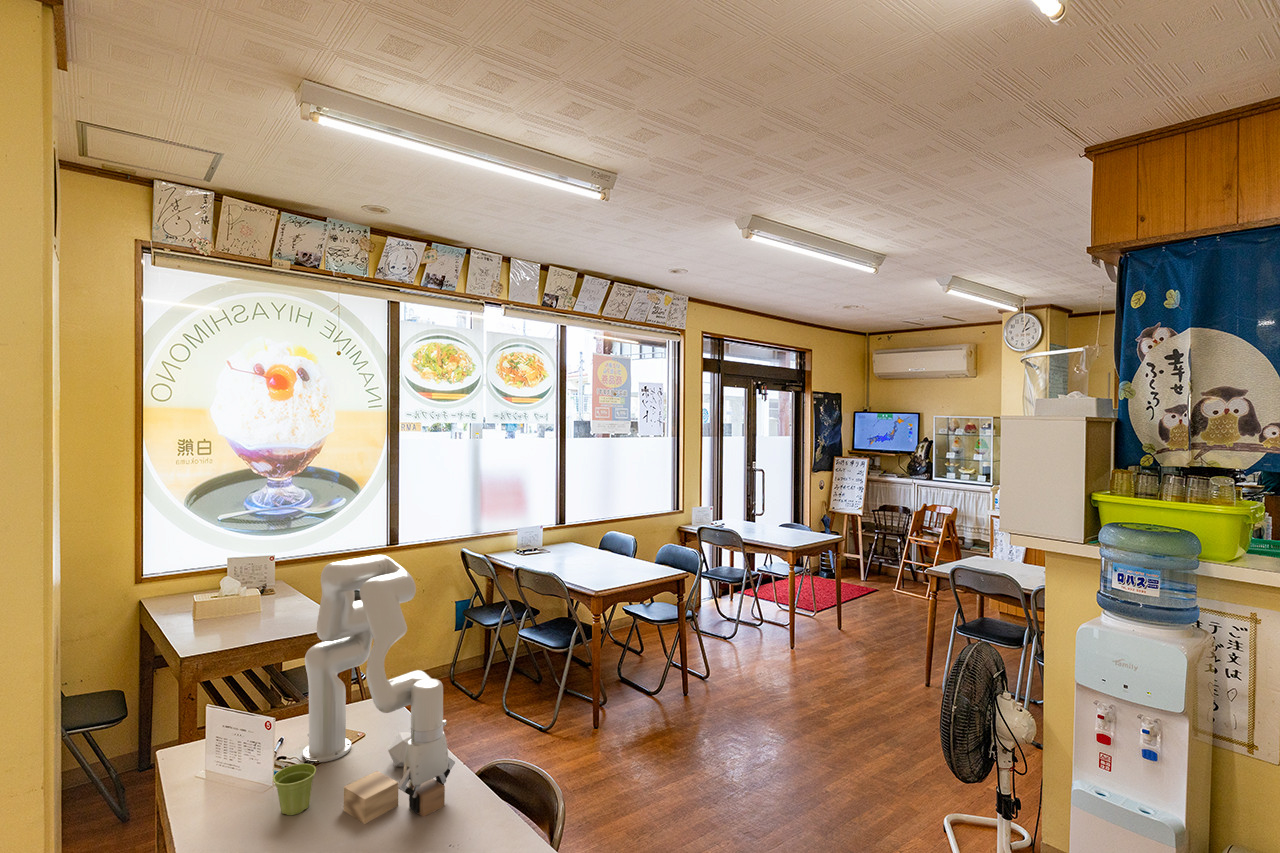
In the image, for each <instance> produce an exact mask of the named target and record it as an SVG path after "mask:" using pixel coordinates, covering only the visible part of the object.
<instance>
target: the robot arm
mask: <svg viewBox="0 0 1280 853" xmlns="http://www.w3.org/2000/svg"><path fill="white" fill-rule="evenodd" d="M320 586H321V598H320V604H319V608H318V609H319V610H318V615H317V620H316V635H317V638H319V640H321V642H318V643H316V644H314V645H312V646H311V647H310V648H308V650H307V651H306V653H305V656H304V664H305V665H304V666H305V669H306V670H305V671H306V674H307V681H308V682H307V683H308V734H307V738H308V745H307V746H305V747H304V748H303V750H302V758H303V757H305V758H306V759H310V760H317V761H319V762H318V763H326V762H330V761H335V760H338V759H340V758H342V757H343V756H345V755H347V754H348V753H349V752H350V751H351V749H352V741H351V740H350V739H349V738H346V737H347V736H346V733H347V732H346V730H347V729H346V728H347V727H346V724H347V723H346V716H347V715H346V714H347V712H346V710H347V709H346V708H347V707H346V705H347V704H346V703H347V702H346V701H347V697H346V695H347V694H346V693H347V692H346V685H345V683H344V682H343V681H342V679H340V678H339V676H338V675H339V674H340V673H341V672H344V671H347V670H350V669H353V668H356V667H359V666H361V665H363V664H364V663H365V662H366V670H365V671H366V672H365V673H366V674H365V676H366V677H365V678H366V683H367V687H368V689H369V693H370V697H371V699H372V702H373V704H374V706H375V708H376V709H377V710H378V711H379V712H380V713H382V714H388V713H393V712H396V711H398V710H401V709H403V708H406V707H407V706H410V732H411V739H410V740H408V743H407V747H406V752H405V759H404V766H403V776H402V778H401V779H400V781H398V785H397V788H398V790H400V791H402V792H403V793H405V794H406V795H408V799H409V800H408V803H409V804H408V808H409V807H410V808H409V809H410V810H411V811H412V812H414V813H415V814H418V813H419V811H420V797H419V796H418V792H419V789H420V785H421V784H422V783H424V782H426V781H428V780H431V779H434V778H435V780H436V781H438V782H439V783H441V784H443V785H444V786H445V784H446V783H447V778H448V777H449V774H450V773H451V770H452V769H453V767H454V765H455V764H456V761H455V760H453V758H451V757H450V756H449V747H448V741H447V737H446V734H445V732H444V727H445V726H447V720H446V719H444V684H443V683H442V681H441V680H439V679H438V678H432V677H431V676H430V675H429V674H427V672H425V671H424V670H422V669H416V670H412V671H409V672H406V673H403V674H401V675H397V676H396V677H392V678H389V679H388V677H387V675H386V670H385V660H386V656H387V654H388V652H389V651H390V648H391V647H392V646H393V645H394V644H395V643H396V642H397V641H399V640H400V639H401V638H403V637H404V636H405V635H406V634H407V632H408V624H407V622H406V620H405V616H404V614H403V611H402V607H401V605H400V604H402V603H407V602H409V601H412V600H413V599H414V597H415V596H416V592H417V587H416V582H415V580H414V578H413V576H412V575H411V574H410V573H409V572H408V570H406V569H405V568H404V567H403V566H401V565H400V564H399V563H397V562H396V561H395V560H394V559H392V558H391V557H389V556H387V555H385V554H374V555H369V556H363V557H357V558H349V559H346V560H339V561H335V562H330V563H327V564H326V565H325V566H324V567H323V568H322V571H321V574H320ZM357 590H359V597H360V599H359V600H355V594H356V593H355V591H357ZM372 643H373V644H372ZM408 783H409V784H408ZM407 784H408V786H407ZM414 786H415V787H414ZM413 788H414V790H413Z"/></svg>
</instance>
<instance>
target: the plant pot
mask: <svg viewBox="0 0 1280 853" xmlns="http://www.w3.org/2000/svg"><path fill="white" fill-rule="evenodd" d="M316 772H317V767H316V766H315V765H313V764H312V763H311V764H310V763H297V764H293V765H288V766H286V767H284V768H282V769H280V770H279V771H277V772H276V773H275V774H274V775H273V777H272V780H273V782H272V783H274V784H275V787H276V790H277V796H278V800H279V806H280V812H281V813H282V815H283V814H284V815H287V816H293V815H294V816H295V815H298V814H301V813H302V812H304V810H307V809H308V808H309V806H310V802H311V794H312V785H313V780H314V778H315V774H316Z"/></svg>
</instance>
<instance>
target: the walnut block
mask: <svg viewBox="0 0 1280 853" xmlns="http://www.w3.org/2000/svg"><path fill="white" fill-rule="evenodd" d="M414 787H415V786H414ZM445 788H446V787H445V784H444V785H443V784H441V783H439V782H438V781H436V779H434V778H433V779H431V780H428V781H426V782H424V783H422V784H421V785H420V789H419V792H418V796H419V797H420V811H419V813H417V814H418V815H419V816H421V817H422V818H424V817H427V816H428V815H430V814H432V813H434V812H437V810H440V809H441V808H443V807H445V802H446V800H445V799H446V798H445V795H446V793H445V792H446V790H445ZM413 790H414V788H413ZM408 808H409V809H410V807H409V806H408Z"/></svg>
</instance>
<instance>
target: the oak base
mask: <svg viewBox="0 0 1280 853" xmlns="http://www.w3.org/2000/svg"><path fill="white" fill-rule="evenodd" d="M398 784H399V781H397V780H394V779H393V778H391V777H389V776H388V775H385V774H383V773H381V772H380V771H378V770H375V771H374V772H372V773H370V774H368V775H365V776H363V777H361V778H359V779H357V780H355V781H353V782H351V783H349V784H347V785H344V786H343V811H344V812H346V813H347V814H349V815H350V816H351V817H353V818H355V819H356V820H358V821H360V822H361V823H363V824H364V825H365V824H367V823H369V822H371V821H373V820H374V819H377V818H379V817H380V816H382V815H384V814H386V813H388V812H389V811H391V810H393V809H395V808H397V807H398V806H399V789H398V788H397V785H398Z"/></svg>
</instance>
